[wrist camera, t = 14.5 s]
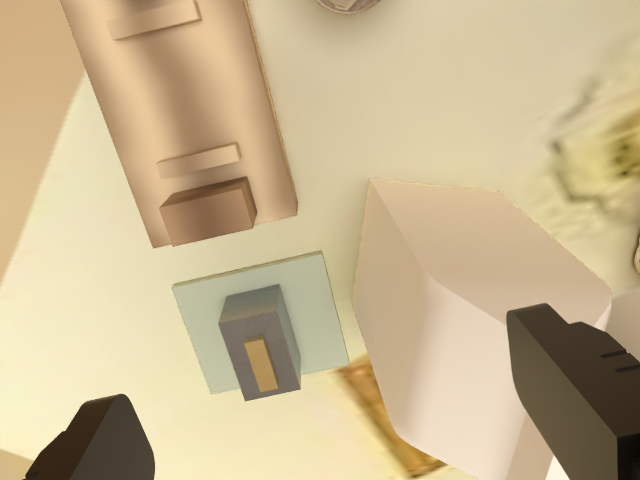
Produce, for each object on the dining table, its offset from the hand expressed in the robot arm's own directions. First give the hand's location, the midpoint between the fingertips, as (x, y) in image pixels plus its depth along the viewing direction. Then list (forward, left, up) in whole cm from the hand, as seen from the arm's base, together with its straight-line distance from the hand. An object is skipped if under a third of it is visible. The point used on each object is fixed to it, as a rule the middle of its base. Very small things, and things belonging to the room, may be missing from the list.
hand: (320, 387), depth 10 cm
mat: (+8, +16, -33) cm, 38 cm away
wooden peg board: (+8, -6, -33) cm, 35 cm away
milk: (-8, +12, -33) cm, 36 cm away
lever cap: (+8, +16, -32) cm, 37 cm away
